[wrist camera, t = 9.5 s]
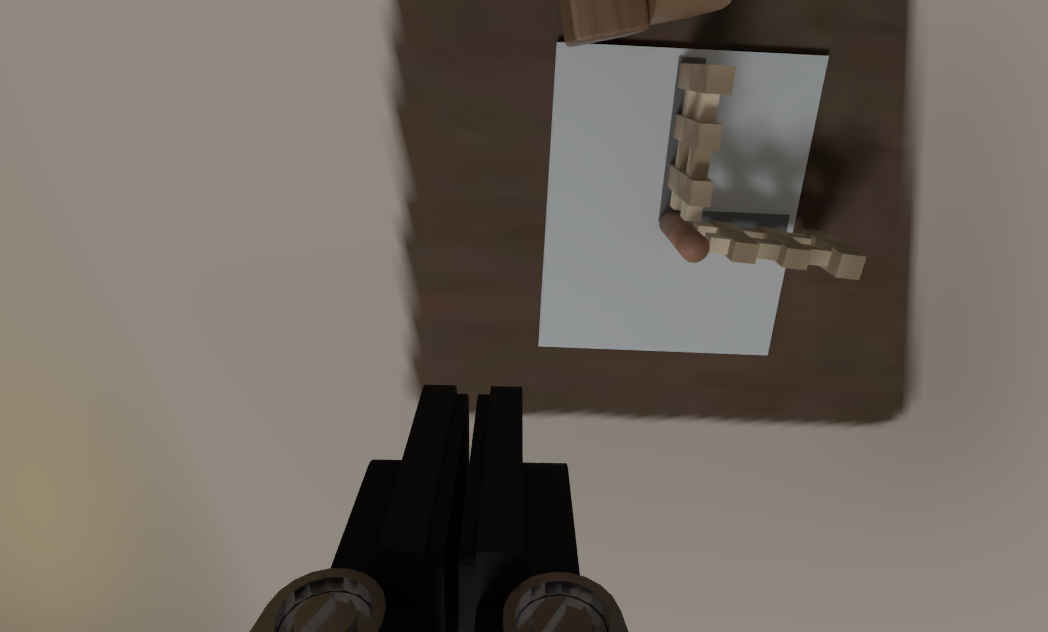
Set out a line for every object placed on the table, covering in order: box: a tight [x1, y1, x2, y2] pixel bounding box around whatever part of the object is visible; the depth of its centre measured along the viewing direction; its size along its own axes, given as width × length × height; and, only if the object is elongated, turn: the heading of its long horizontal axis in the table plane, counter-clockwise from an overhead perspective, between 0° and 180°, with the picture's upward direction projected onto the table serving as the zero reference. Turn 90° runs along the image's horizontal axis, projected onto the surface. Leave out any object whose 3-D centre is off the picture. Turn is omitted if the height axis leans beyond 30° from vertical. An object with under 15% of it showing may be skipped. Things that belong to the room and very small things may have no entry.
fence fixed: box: [667, 63, 736, 221], centre depth 32 cm, size 7×1×6 cm, turn 177°
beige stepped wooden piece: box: [659, 211, 866, 280], centre depth 34 cm, size 9×1×5 cm, turn 83°
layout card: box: [538, 42, 829, 355], centre depth 37 cm, size 17×14×1 cm
